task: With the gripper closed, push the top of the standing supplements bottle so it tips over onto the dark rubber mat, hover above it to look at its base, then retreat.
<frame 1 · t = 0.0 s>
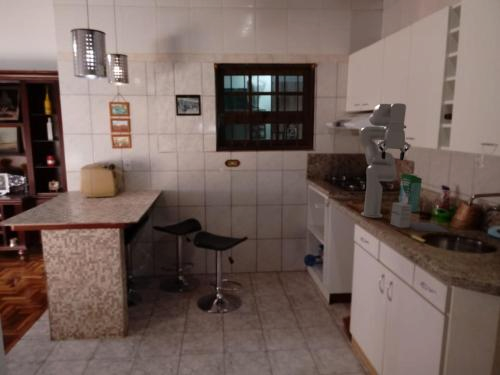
hand: (392, 159, 195), 37 cm above the worktop, tool pointing down, fingers open, 9 cm apart
mat: (424, 227, 202), on the worktop
supplement box: (399, 226, 203), on the worktop
milk carton: (407, 210, 248), on the worktop
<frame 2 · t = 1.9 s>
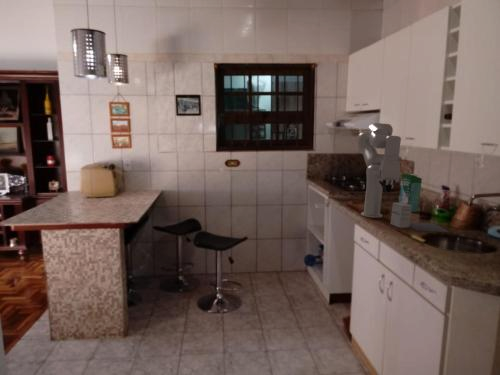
hand: (387, 191, 199), 19 cm above the worktop, tool pointing down, fingers closed
nothing on the worktop moved.
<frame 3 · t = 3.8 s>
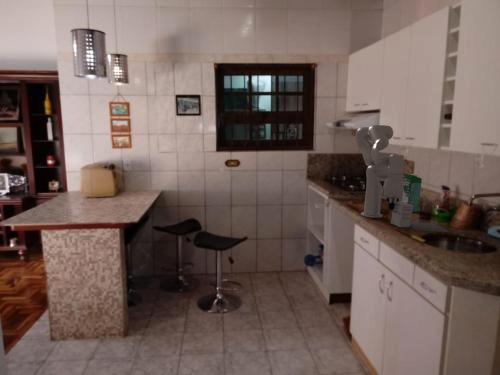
hand: (390, 209, 201), 9 cm above the worktop, tool pointing down, fingers closed
supplement box: (399, 225, 203), on the worktop, touching gripper
everything else where it was.
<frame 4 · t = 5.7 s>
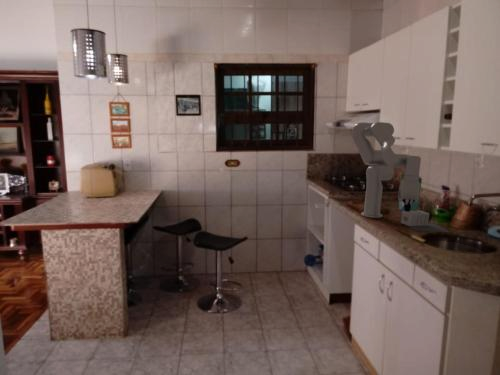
hand: (406, 211, 201), 9 cm above the worktop, tool pointing down, fingers closed
supplement box: (405, 218, 203), point 4 cm above the worktop, touching mat
everything else where it was.
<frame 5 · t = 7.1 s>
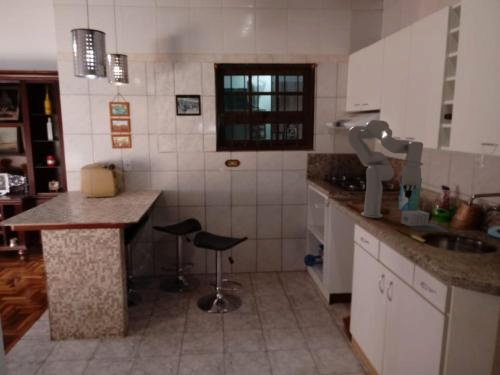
hand: (407, 197, 201), 16 cm above the worktop, tool pointing down, fingers closed
nothing on the worktop moved.
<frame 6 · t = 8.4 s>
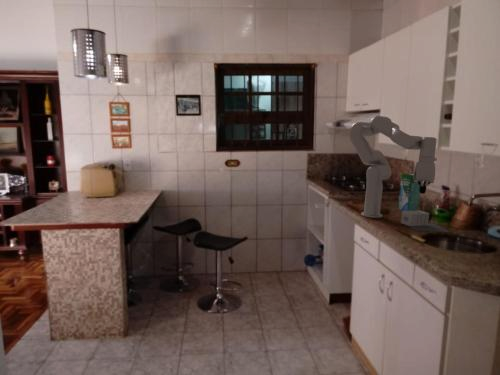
hand: (422, 193, 199), 19 cm above the worktop, tool pointing down, fingers closed
nothing on the worktop moved.
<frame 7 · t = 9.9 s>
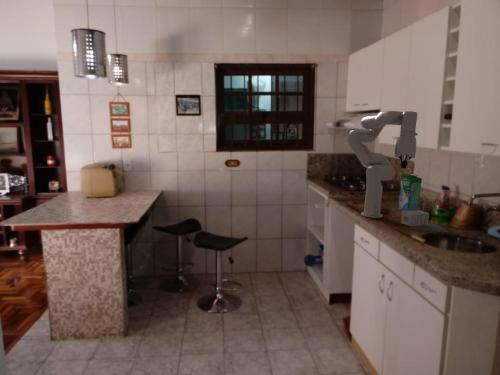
hand: (403, 168, 200), 32 cm above the worktop, tool pointing down, fingers closed
nothing on the worktop moved.
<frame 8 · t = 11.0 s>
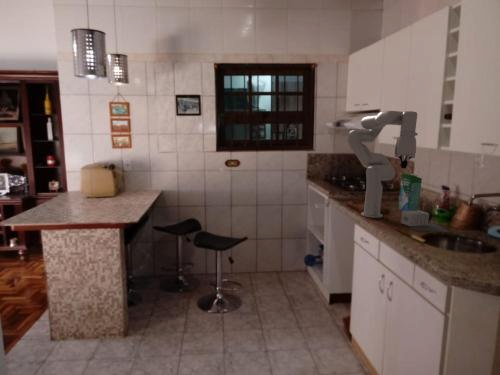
hand: (403, 168, 200), 32 cm above the worktop, tool pointing down, fingers closed
nothing on the worktop moved.
at the end: supplement box tilted 90°; supplement box inside the target area (7.9 cm from its centre), point 4.1 cm above the worktop; the gripper is holding nothing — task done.
